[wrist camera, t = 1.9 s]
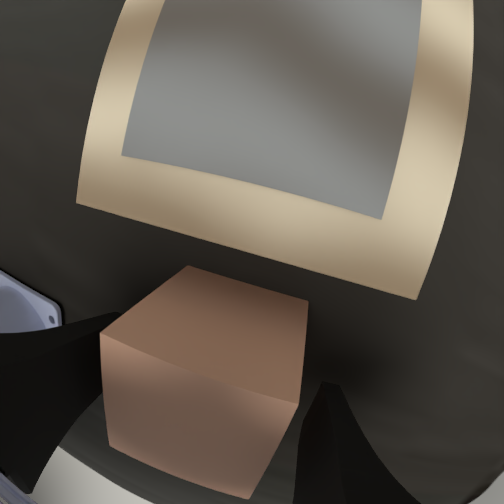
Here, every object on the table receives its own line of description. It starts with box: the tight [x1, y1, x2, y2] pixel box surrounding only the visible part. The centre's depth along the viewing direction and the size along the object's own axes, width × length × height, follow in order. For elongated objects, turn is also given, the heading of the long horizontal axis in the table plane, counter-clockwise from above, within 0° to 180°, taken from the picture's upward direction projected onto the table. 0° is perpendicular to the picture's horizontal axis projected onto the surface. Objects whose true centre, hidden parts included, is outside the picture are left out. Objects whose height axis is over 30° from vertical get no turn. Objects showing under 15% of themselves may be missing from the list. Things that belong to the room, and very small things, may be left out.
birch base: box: [76, 0, 473, 300], centre depth 9 cm, size 12×12×3 cm
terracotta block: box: [100, 265, 308, 499], centre depth 10 cm, size 5×5×6 cm
